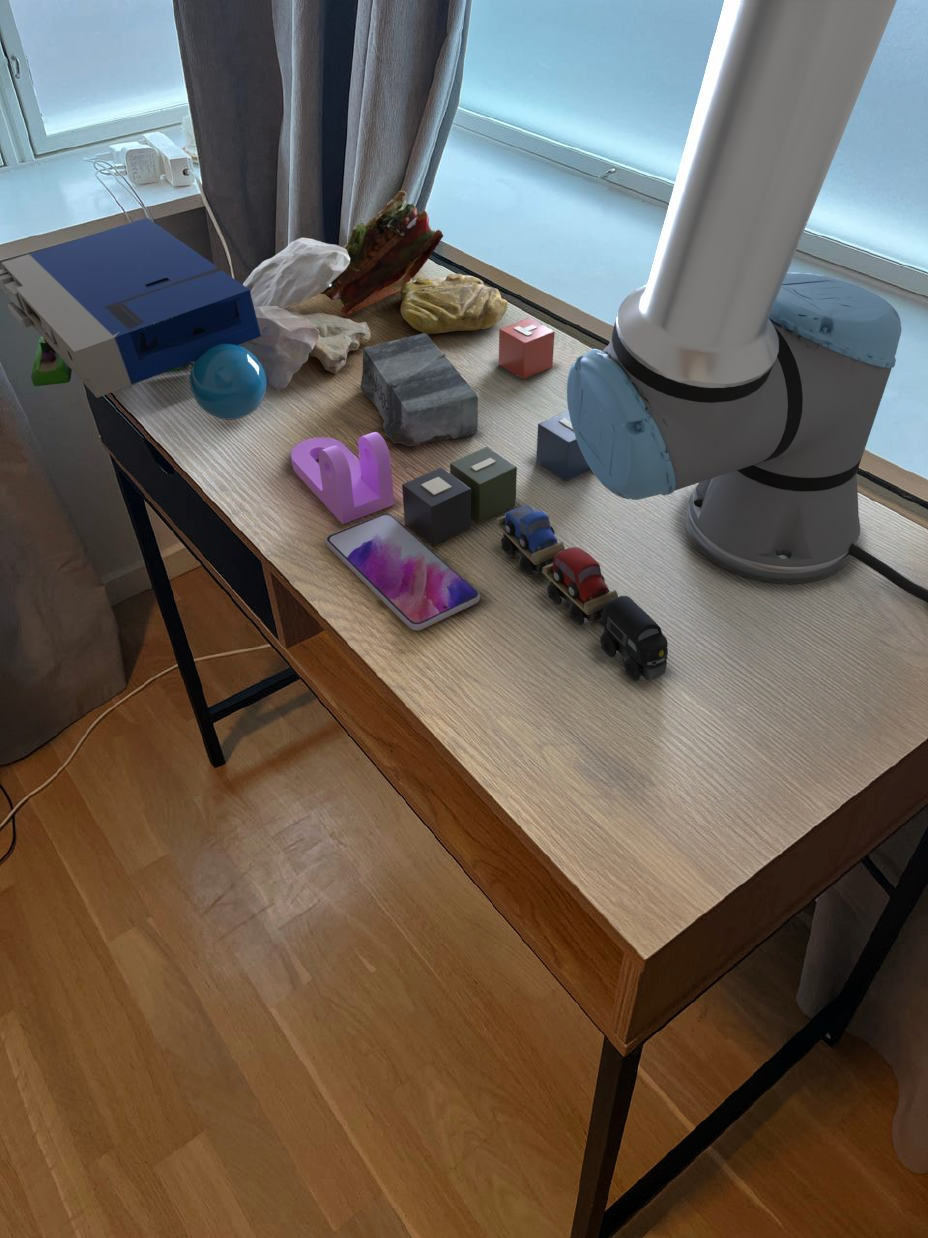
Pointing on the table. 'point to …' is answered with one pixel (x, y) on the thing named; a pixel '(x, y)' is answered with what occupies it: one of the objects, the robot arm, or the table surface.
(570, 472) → the block
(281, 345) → the stone tool
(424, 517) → the block
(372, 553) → the smartphone
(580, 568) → the toy train
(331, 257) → the fragment
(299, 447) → the bracket
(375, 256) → the sandwich
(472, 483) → the block
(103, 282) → the electronic device
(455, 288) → the sculpture
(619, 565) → the table surface
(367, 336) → the stone
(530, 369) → the letter block
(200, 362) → the ball
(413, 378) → the stone block
